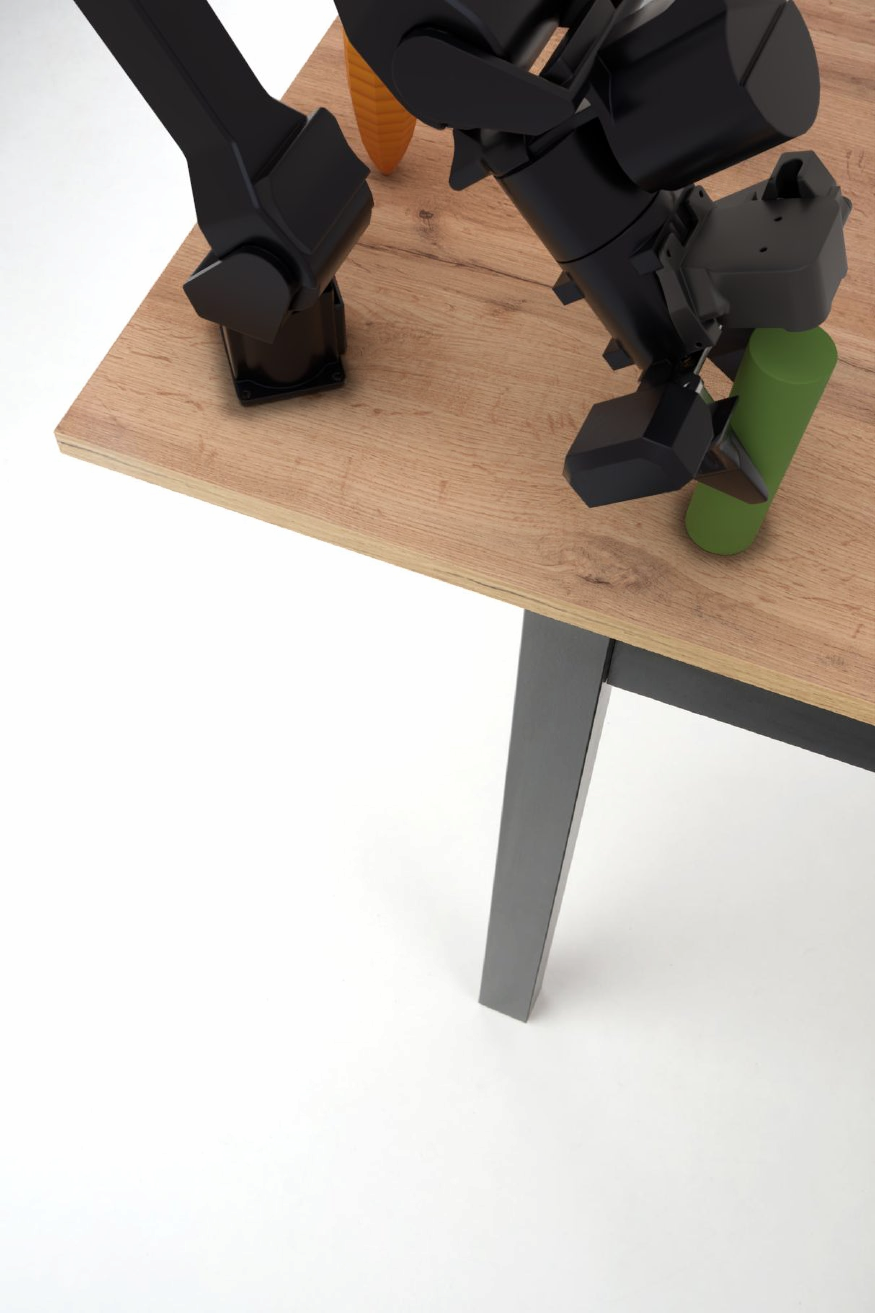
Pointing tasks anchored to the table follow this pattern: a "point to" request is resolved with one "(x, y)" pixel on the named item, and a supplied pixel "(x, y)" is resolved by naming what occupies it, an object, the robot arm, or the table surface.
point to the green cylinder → (764, 428)
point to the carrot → (377, 113)
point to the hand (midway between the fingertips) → (777, 461)
